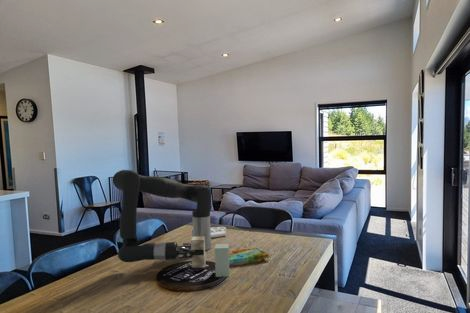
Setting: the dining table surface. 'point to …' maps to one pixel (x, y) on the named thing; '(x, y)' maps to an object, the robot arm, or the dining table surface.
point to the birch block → (198, 244)
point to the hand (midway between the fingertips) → (204, 250)
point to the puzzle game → (246, 256)
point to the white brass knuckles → (218, 232)
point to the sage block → (222, 260)
